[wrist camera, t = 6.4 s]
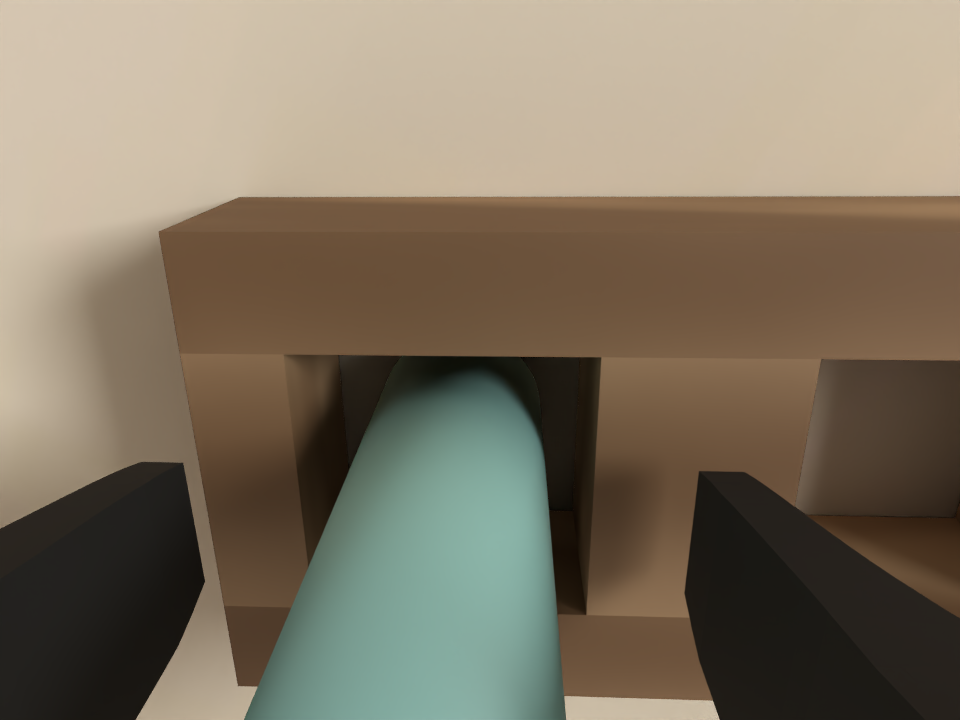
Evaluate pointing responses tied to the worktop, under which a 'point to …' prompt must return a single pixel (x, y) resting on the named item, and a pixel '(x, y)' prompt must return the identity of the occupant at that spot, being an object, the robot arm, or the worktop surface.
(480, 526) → the peg
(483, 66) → the worktop surface
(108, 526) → the robot arm
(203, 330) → the hole block
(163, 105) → the worktop surface
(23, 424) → the worktop surface
